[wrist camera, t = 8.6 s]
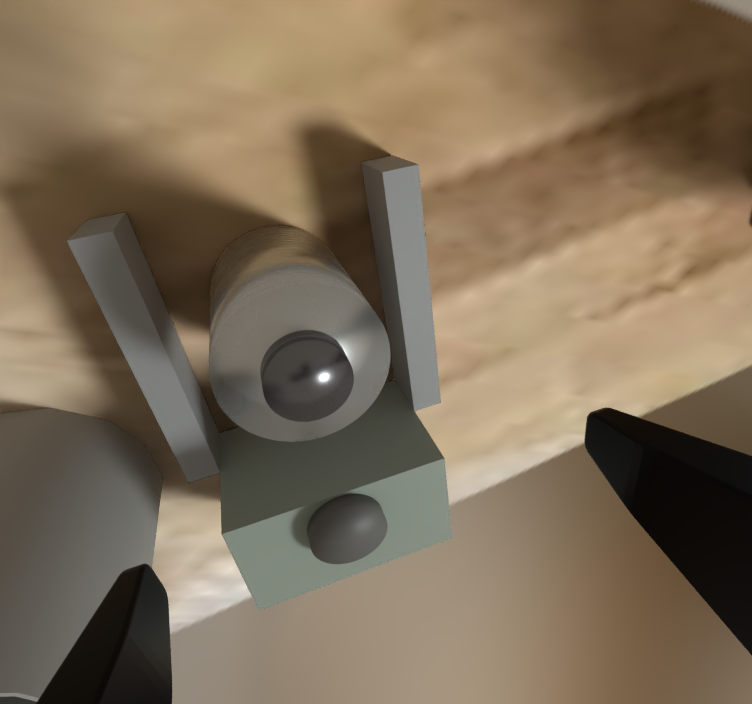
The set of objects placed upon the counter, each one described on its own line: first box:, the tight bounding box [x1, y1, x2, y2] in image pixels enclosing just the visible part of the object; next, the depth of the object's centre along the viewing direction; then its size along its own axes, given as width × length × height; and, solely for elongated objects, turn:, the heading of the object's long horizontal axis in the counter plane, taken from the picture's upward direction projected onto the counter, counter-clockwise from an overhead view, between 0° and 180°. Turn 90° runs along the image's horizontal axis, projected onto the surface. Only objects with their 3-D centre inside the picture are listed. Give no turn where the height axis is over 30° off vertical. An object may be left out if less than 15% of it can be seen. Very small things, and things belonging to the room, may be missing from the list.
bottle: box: [209, 225, 391, 442], centre depth 15 cm, size 5×5×7 cm
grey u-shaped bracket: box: [67, 155, 452, 610], centre depth 17 cm, size 10×14×6 cm
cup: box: [0, 408, 163, 704], centre depth 15 cm, size 8×8×10 cm
